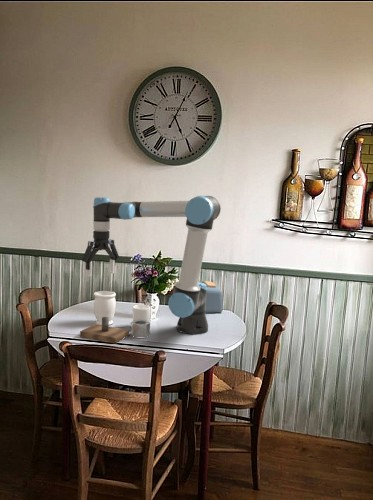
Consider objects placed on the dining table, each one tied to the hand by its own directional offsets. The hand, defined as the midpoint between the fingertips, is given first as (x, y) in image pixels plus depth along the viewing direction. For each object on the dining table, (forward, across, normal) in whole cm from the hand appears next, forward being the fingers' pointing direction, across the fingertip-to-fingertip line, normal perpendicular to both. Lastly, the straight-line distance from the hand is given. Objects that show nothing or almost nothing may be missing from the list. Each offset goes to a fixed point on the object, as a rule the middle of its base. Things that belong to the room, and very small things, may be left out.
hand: (100, 274), depth 221 cm
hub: (+24, -3, +25) cm, 35 cm away
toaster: (+25, -60, +17) cm, 67 cm away
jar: (+24, -2, 0) cm, 25 cm away
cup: (+25, -13, +16) cm, 32 cm away
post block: (+24, +10, +15) cm, 30 cm away
